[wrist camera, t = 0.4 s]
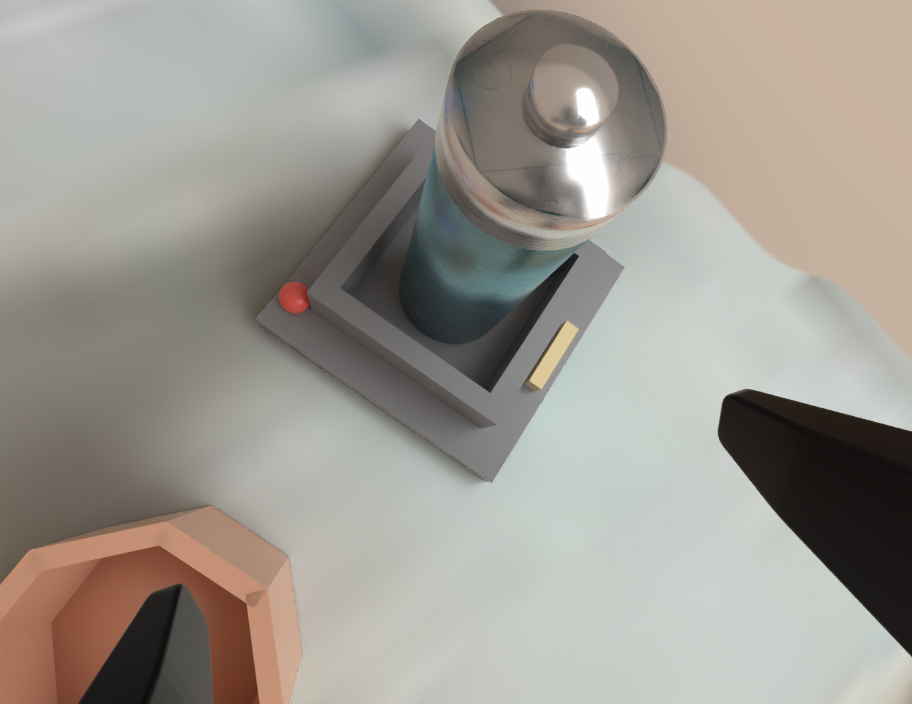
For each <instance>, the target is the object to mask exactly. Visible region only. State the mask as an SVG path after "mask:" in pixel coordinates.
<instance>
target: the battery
mask: <svg viewBox="0 0 912 704" xmlns="http://www.w3.org/2000/svg"><path fill="white" fill-rule="evenodd" d="M666 141H667V123H666V115H665V110H664V105H663V102H662V99H661V96H660V93H659V90H658V88H657V86H656V84H655V82H654V80H653V78H652V76H651V75H650V73H649V71H648V70H647V68H646V67H645V65H644V64H643V63H642V62H641V60H640V59H639V58H638V56H637V55H636V54H635V53H634V52H633V51H632V50H631V49H630V48H629V47H628V46H627V45H626V44H625V43H624V42H622V41H621V40H620V39H619V38H617V37H616V36H615V35H613V34H612V33H610V32H609V31H607V30H606V29H604V28H603V27H601V26H599V25H597V24H595V23H593V22H591V21H589V20H586V19H584V18H581V17H579V16H576V15H572V14H568V13H564V12H558V11H552V10H528V11H521V12H516V13H512V14H508V15H505V16H503V17H500V18H497V19H495V20H494V21H492V22H490V23H488V24H486V25H485V26H484V27H482V28H481V29H480V30H478V31H477V32H476V33H475V34H474V35H473V36H472V37H471V38H470V39H469V40H468V41H467V42H466V43H465V45H464V46H463V47H462V49H461V50H460V52H459V53H458V55H457V57H456V59H455V62H454V64H453V66H452V69H451V73H450V76H449V80H448V84H447V88H446V92H445V96H444V100H443V104H442V108H441V112H440V116H439V120H438V124H437V129H436V136H435V145H434V149H433V153H432V157H431V161H430V165H429V169H428V173H427V177H426V181H425V185H424V189H423V193H422V197H421V200H420V204H419V208H418V212H417V216H416V220H415V224H414V228H413V232H412V236H411V240H410V244H409V248H408V252H407V255H406V259H405V263H404V267H403V271H402V275H401V280H400V299H401V303H402V307H403V309H404V312H405V314H406V315H407V317H408V319H409V320H410V321H411V323H412V324H413V325H414V326H415V327H416V328H417V329H418V330H419V331H420V332H422V333H423V334H424V335H426V336H428V337H429V338H431V339H434V340H436V341H439V342H443V343H448V344H462V343H467V342H471V341H474V340H477V339H479V338H480V337H482V336H484V335H485V334H487V333H488V332H489V331H490V330H491V329H492V328H493V327H494V326H496V325H497V324H498V323H499V322H500V321H501V320H502V319H503V318H504V317H505V316H506V315H507V314H509V313H510V312H511V311H512V310H513V309H514V308H515V307H516V306H517V305H518V304H519V303H520V302H521V301H523V300H524V299H525V298H526V297H527V296H528V295H529V294H530V293H531V292H532V291H533V290H534V289H536V288H537V287H538V286H539V285H540V284H541V283H542V282H543V281H544V280H545V279H546V278H547V277H549V276H550V275H551V274H552V273H553V272H554V271H555V270H556V269H557V268H558V267H559V266H560V265H561V264H563V263H564V262H565V261H566V260H567V259H568V258H569V257H570V256H571V255H572V254H573V253H574V252H576V251H577V250H578V249H579V248H580V247H581V246H582V245H583V244H584V243H585V242H586V241H587V240H589V239H590V238H592V237H593V236H595V235H596V234H598V233H599V232H600V231H602V230H603V229H604V228H605V227H606V226H607V225H608V224H609V223H610V222H611V221H612V220H614V219H615V218H616V217H617V216H618V215H619V214H620V213H621V212H622V211H623V210H625V209H626V208H627V207H628V206H629V205H630V204H631V203H632V202H633V201H634V200H635V199H637V198H638V197H639V196H640V195H641V194H642V193H643V192H644V191H645V190H646V189H647V187H648V186H649V185H650V183H651V182H652V181H653V179H654V177H655V176H656V174H657V172H658V170H659V168H660V165H661V163H662V160H663V156H664V152H665V148H666Z"/></svg>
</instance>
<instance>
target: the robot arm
mask: <svg viewBox="0 0 912 704" xmlns="http://www.w3.org/2000/svg"><path fill="white" fill-rule="evenodd" d="M718 437H719V440H720V442H721V444H722V445H723V447H724V448H725V449H726V451H727V452H728V453H729V454H730V456H731V457H732V458H733V460H734V461H735V462H736V463H737V465H738V466H739V467H740V468H741V470H742V471H743V472H744V473H745V475H746V476H747V477H748V479H749V480H750V481H751V482H752V484H753V485H754V486H755V487H756V489H757V490H758V491H759V493H760V494H761V495H762V496H763V498H764V499H765V500H766V501H767V503H768V504H769V505H770V506H771V508H772V509H773V510H774V511H775V512H776V514H777V515H778V516H779V517H780V518H781V519H782V520H783V521H784V523H785V524H786V525H787V526H788V527H789V528H790V529H791V530H792V531H793V532H794V533H795V534H796V535H797V536H798V537H799V539H800V540H801V541H802V542H803V543H804V544H805V545H806V546H807V547H808V548H809V549H810V550H811V551H812V552H813V553H814V554H815V555H816V556H817V558H818V559H819V560H820V561H821V562H822V563H823V564H824V565H825V566H826V567H827V568H828V569H829V570H830V571H831V572H832V573H833V574H834V575H835V577H836V578H837V579H838V580H839V581H840V582H841V583H842V584H843V585H844V586H845V587H846V588H847V589H848V590H849V591H850V592H851V593H852V594H853V596H854V597H855V598H856V599H857V600H858V601H859V602H860V603H861V604H862V605H863V606H864V607H865V608H866V609H867V610H868V611H869V612H870V613H871V615H872V616H873V617H874V618H875V619H876V620H877V621H878V622H879V623H880V624H881V625H882V626H883V627H884V628H885V629H886V630H887V631H888V632H889V633H890V635H891V636H892V637H893V638H894V639H895V640H896V641H897V642H898V643H899V644H900V645H901V646H902V647H903V648H904V649H905V650H906V651H907V652H908V654H909V655H910V656H911V657H912V431H908V430H904V429H900V428H897V427H893V426H889V425H885V424H881V423H877V422H874V421H870V420H866V419H862V418H858V417H855V416H851V415H847V414H843V413H839V412H835V411H832V410H828V409H824V408H820V407H816V406H813V405H809V404H805V403H801V402H797V401H794V400H790V399H786V398H782V397H778V396H774V395H771V394H767V393H763V392H759V391H755V390H751V389H743V390H740V391H737V392H734V393H731V394H729V395H727V396H726V397H725V398H724V399H723V402H722V408H721V414H720V420H719V426H718ZM78 704H214V700H213V685H212V670H211V655H210V640H209V630H208V625H207V621H206V619H205V616H204V615H203V613H202V611H201V610H200V608H199V606H198V604H197V603H196V601H195V599H194V598H193V596H192V594H191V593H190V591H189V589H188V588H187V587H186V586H185V585H184V584H182V583H177V584H174V585H172V586H169V587H166V588H163V589H160V590H157V591H154V592H153V593H151V594H150V595H149V596H148V597H147V598H146V600H145V601H144V603H143V604H142V606H141V607H140V609H139V610H138V612H137V613H136V615H135V617H134V618H133V620H132V621H131V623H130V624H129V626H128V627H127V629H126V630H125V632H124V633H123V635H122V636H121V638H120V639H119V641H118V642H117V644H116V646H115V647H114V649H113V650H112V652H111V653H110V655H109V656H108V658H107V659H106V661H105V662H104V664H103V665H102V667H101V668H100V670H99V671H98V673H97V675H96V676H95V678H94V679H93V681H92V682H91V684H90V685H89V687H88V688H87V690H86V691H85V693H84V694H83V696H82V697H81V699H80V700H79V702H78Z"/></svg>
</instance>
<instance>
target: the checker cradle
mask: <svg viewBox="0 0 912 704" xmlns="http://www.w3.org/2000/svg"><path fill="white" fill-rule="evenodd" d="M435 136H436V131H435V130H433V129H432V128H431V127H429V126H428V125H426V124H425V123H424V122H422V121H421V120H419V119H418V120H417V122H416V123H415V124H414V125H413V127H412V128H411V129H410V130H409V131H408V133H407V134H406V135H405V136H404V138H403V139H402V140H401V141H400V142H399V144H398V145H397V146H396V147H395V149H394V150H393V151H392V152H391V153H390V155H389V156H388V157H387V158H386V160H385V161H384V162H383V163H382V164H381V166H380V167H379V168H378V169H377V171H376V172H375V173H374V174H373V176H372V177H371V178H370V179H369V180H368V182H367V183H366V184H365V185H364V187H363V188H362V189H361V190H360V191H359V193H358V194H357V195H356V196H355V198H354V199H353V200H352V201H351V202H350V204H349V205H348V206H347V207H346V209H345V210H344V211H343V212H342V213H341V215H340V216H339V217H338V218H337V220H336V221H335V222H334V223H333V224H332V226H331V227H330V228H329V229H328V231H327V232H326V233H325V234H324V235H323V237H322V238H321V239H320V240H319V242H318V243H317V244H316V245H315V246H314V248H313V249H312V250H311V251H310V253H309V254H308V255H307V256H306V257H305V259H304V260H303V261H302V262H301V264H300V265H299V266H298V267H297V268H296V270H295V271H294V272H293V273H292V275H291V276H290V277H289V278H288V280H287V281H286V282H285V283H284V284H283V286H282V287H281V288H280V289H279V291H278V292H277V293H276V294H275V295H274V297H273V298H272V299H271V300H270V302H269V303H268V304H267V305H266V306H265V308H264V309H263V310H262V311H261V313H260V314H259V315H258V316H257V317H256V319H255V320H256V321H257V322H258V324H259V325H260V326H261V327H263V328H264V329H266V330H267V331H269V332H270V333H272V334H273V335H274V336H276V337H277V338H279V339H280V340H282V341H283V342H285V343H286V344H287V345H289V346H290V347H292V348H293V349H295V350H296V351H298V352H299V353H301V354H302V355H303V356H305V357H306V358H308V359H309V360H311V361H312V362H314V363H315V364H316V365H318V366H319V367H321V368H322V369H324V370H325V371H327V372H328V373H329V374H331V375H332V376H334V377H335V378H337V379H338V380H340V381H341V382H343V383H344V384H345V385H347V386H348V387H350V388H351V389H353V390H354V391H356V392H357V393H358V394H360V395H361V396H363V397H364V398H366V399H367V400H369V401H370V402H372V403H373V404H374V405H376V406H377V407H379V408H380V409H382V410H383V411H385V412H386V413H387V414H389V415H390V416H392V417H393V418H395V419H396V420H398V421H399V422H401V423H402V424H403V425H405V426H406V427H408V428H409V429H411V430H412V431H414V432H415V433H416V434H418V435H419V436H421V437H422V438H424V439H425V440H427V441H428V442H429V443H431V444H432V445H434V446H435V447H437V448H438V449H440V450H441V451H443V452H444V453H445V454H447V455H448V456H450V457H451V458H453V459H454V460H456V461H457V462H458V463H460V464H461V465H463V466H464V467H466V468H467V469H469V470H470V471H472V472H473V473H474V474H476V475H477V476H479V477H480V478H482V479H483V480H485V481H486V482H491V483H492V482H493V480H494V478H495V477H496V475H497V473H498V472H499V470H500V469H501V467H502V465H503V464H504V462H505V460H506V459H507V457H508V456H509V454H510V452H511V451H512V449H513V448H514V446H515V444H516V443H517V441H518V439H519V438H520V436H521V435H522V433H523V431H524V430H525V428H526V426H527V425H528V423H529V422H530V420H531V418H532V417H533V415H534V413H535V412H536V410H537V409H538V407H539V405H540V404H541V402H542V400H543V399H544V397H545V396H546V394H547V392H548V391H549V389H550V387H551V386H552V384H553V383H554V381H555V379H556V378H557V376H558V374H559V373H560V371H561V370H562V368H563V366H564V365H565V363H566V361H567V360H568V358H569V357H570V355H571V353H572V352H573V350H574V348H575V347H576V345H577V344H578V342H579V340H580V339H581V337H582V335H583V334H584V332H585V331H586V329H587V327H588V326H589V324H590V322H591V321H592V319H593V318H594V316H595V314H596V313H597V311H598V309H599V308H600V306H601V305H602V303H603V301H604V300H605V298H606V296H607V295H608V293H609V292H610V290H611V288H612V287H613V285H614V284H615V282H616V280H617V279H618V277H619V275H620V274H621V272H622V271H623V269H624V266H622V265H621V264H619V263H618V262H617V261H615V260H614V259H612V258H611V257H610V256H608V255H607V254H606V252H605V251H604V250H602V249H601V248H599V247H598V246H597V245H595V244H594V243H592V242H591V241H590V240H587V241H586V242H585V243H584V244H583V245H582V246H581V247H580V248H579V249H578V250H577V251H576V252H574V253H573V254H572V255H571V256H570V257H569V258H568V259H567V260H566V261H565V262H564V263H563V264H561V265H560V266H559V267H558V268H557V269H556V270H555V271H554V272H553V273H552V274H551V275H550V276H549V277H547V278H546V279H545V280H544V281H543V282H542V283H541V284H540V285H539V286H538V287H537V288H536V289H534V290H533V291H532V292H531V293H530V294H529V295H528V296H527V297H526V298H525V299H524V300H523V301H521V302H520V303H519V304H518V305H517V306H516V307H515V308H514V309H513V310H512V311H511V312H510V313H509V314H507V315H506V316H505V317H504V318H503V319H502V320H501V321H500V322H499V323H498V324H497V325H496V326H494V327H493V328H492V329H491V330H490V331H489V332H488V333H487V334H485V335H484V336H482V337H480V338H479V339H477V340H474V341H471V342H467V343H462V344H448V343H443V342H439V341H436V340H434V339H431V338H429V337H428V336H426V335H424V334H423V333H422V332H420V331H419V330H418V329H417V328H416V327H415V326H414V325H413V324H412V323H411V321H410V320H409V319H408V317H407V315H406V314H405V312H404V309H403V307H402V303H401V299H400V280H401V275H402V271H403V267H404V263H405V259H406V255H407V252H408V248H409V244H410V240H411V236H412V232H413V228H414V224H415V220H416V216H417V212H418V208H419V204H420V200H421V197H422V193H423V189H424V185H425V181H426V177H427V173H428V169H429V165H430V161H431V157H432V153H433V149H434V145H435Z"/></svg>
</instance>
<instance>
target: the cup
mask: <svg viewBox="0 0 912 704" xmlns="http://www.w3.org/2000/svg"><path fill="white" fill-rule="evenodd" d="M177 583H182V584H184V585H185V586H186V587H187V588H188V589H189V591H190V593H191V594H192V596H193V598H194V599H195V601H196V603H197V604H198V606H199V608H200V610H201V611H202V613H203V615H204V616H205V619H206V621H207V625H208V630H209V640H210V655H211V670H212V685H213V700H214V704H289V701H290V698H291V694H292V690H293V686H294V683H295V679H296V675H297V672H298V668H299V664H300V660H301V657H302V646H301V639H300V632H299V625H298V618H297V611H296V604H295V597H294V590H293V583H292V576H291V569H290V562H289V556H287V555H286V554H284V553H283V552H281V551H280V550H278V549H277V548H275V547H274V546H272V545H271V544H269V543H268V542H266V541H265V540H263V539H262V538H260V537H259V536H257V535H256V534H254V533H253V532H251V531H250V530H248V529H247V528H245V527H244V526H242V525H241V524H239V523H238V522H236V521H235V520H233V519H232V518H230V517H229V516H227V515H226V514H224V513H223V512H221V511H220V510H219V509H217V508H216V507H214V506H213V505H211V506H207V507H202V508H197V509H192V510H187V511H182V512H177V513H173V514H168V515H163V516H158V517H153V518H148V519H144V520H139V521H134V522H129V523H124V524H119V525H114V526H110V527H107V528H103V529H100V530H96V531H93V532H89V533H86V534H83V535H79V536H76V537H72V538H69V539H65V540H62V541H58V542H55V543H52V544H48V545H45V546H41V547H38V548H34V549H31V550H29V551H28V552H27V553H26V555H25V556H24V557H23V558H22V559H21V561H20V562H19V563H18V564H17V565H16V566H15V568H14V569H13V570H12V571H11V572H10V574H9V575H8V576H7V577H6V578H5V580H4V581H3V582H2V583H1V584H0V704H78V702H79V700H80V699H81V697H82V696H83V694H84V693H85V691H86V690H87V688H88V687H89V685H90V684H91V682H92V681H93V679H94V678H95V676H96V675H97V673H98V671H99V670H100V668H101V667H102V665H103V664H104V662H105V661H106V659H107V658H108V656H109V655H110V653H111V652H112V650H113V649H114V647H115V646H116V644H117V642H118V641H119V639H120V638H121V636H122V635H123V633H124V632H125V630H126V629H127V627H128V626H129V624H130V623H131V621H132V620H133V618H134V617H135V615H136V613H137V612H138V610H139V609H140V607H141V606H142V604H143V603H144V601H145V600H146V598H147V597H148V596H149V595H150V594H151V593H153V592H154V591H157V590H160V589H163V588H166V587H169V586H172V585H174V584H177Z"/></svg>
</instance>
